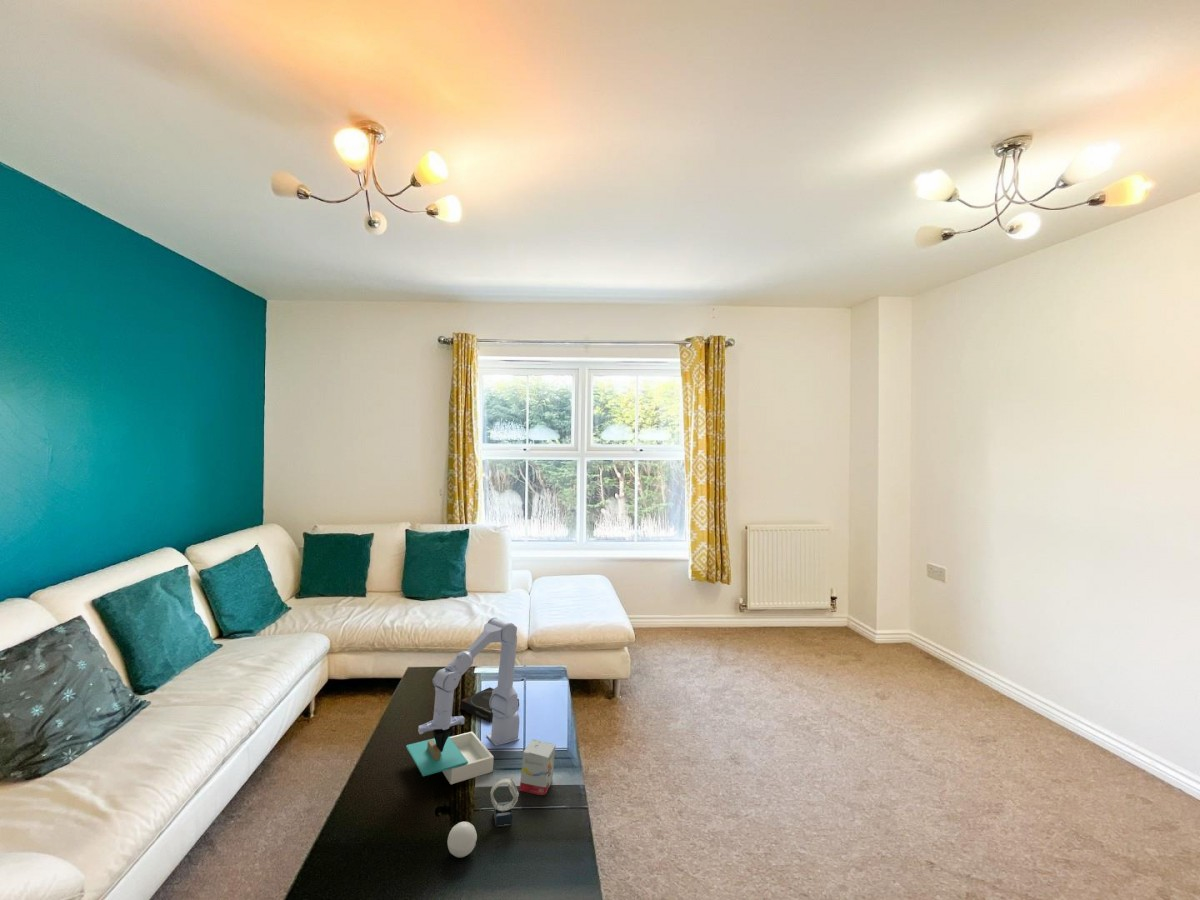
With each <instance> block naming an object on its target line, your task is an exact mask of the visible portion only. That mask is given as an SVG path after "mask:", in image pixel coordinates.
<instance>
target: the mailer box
mask: <svg viewBox="0 0 1200 900" xmlns="http://www.w3.org/2000/svg"><path fill="white" fill-rule="evenodd" d="M449 737H450V738H451V740H452V741H453V742H454V744H455V745H456V746H457V748H458V749H459V750H460V752H461V753H462V754H463V756H464V757H465V758H466V760H467V761H468V764H465V765H461V766H458V767H454V768H451V769H447V770H444V771H441V772H442V773H443V775H444V777H445V778H446V780H447V781H448V782H449V784H450V785H453V784H456V783H460V782H464V781H466V780H469V779H473V778H476V777H481V776H482V775H487V774H489V773H492V772H494V759H495V758H494V755H493V754H492V753H491V752H490V750H489V749H488V747H486V746H485V744H484V743H483V742H482V741H481V740H480V739H479V737H478V736H477V735H476V734H475V732H474V731H469V732H464V733H461V734H457V735H451V736H449Z"/></svg>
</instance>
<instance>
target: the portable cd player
mask: <svg viewBox="0 0 1200 900" xmlns="http://www.w3.org/2000/svg"><path fill="white" fill-rule="evenodd" d="M493 689H494V688H492V687H490V686H489V687H487V688H485V689H483V690H479V691H478V692H476V693H474V694H472V695H470V696H467V697H465V698H463V699H461V700H460V705H459V710H461V709H463V710H465V711H466V712H465V711H464V712H465V713H467V712H468V714H469V713H470V714H469V715H472V716H473V717H476V718H478V719H481V720H483V721H485V722H487V723H492V720H493V712H492V708H490V705H489V701H490V698H491V696H492V690H493ZM517 700H518V708H519V707H520V699H519V698H517ZM463 710H462V711H463Z"/></svg>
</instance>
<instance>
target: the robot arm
mask: <svg viewBox="0 0 1200 900" xmlns="http://www.w3.org/2000/svg"><path fill="white" fill-rule="evenodd" d="M517 632H518V627H517V626H516V625H515V624H514V623H512V622H508V621H505V620H502V619H500V618H498V617H495V616H494V617H491V618H490V619H489V620H488V621H487V622H486V623H485V624H484V626H483V630H482V632H481V633H480V634H479V635H478V637H477V638H475V640H474V641H473V642H472V643H471V645H470V646H469V647H468V648H467V650H463V651H460V652H458V653H457V654H456V656H455V657H454V658H453V659H452V661H450V662H449V663H448V664H447V666H445V667H444V668H441V669H439V670H437V671H436V673H435V674H434V676H433V678H432V684H433V685H434V691H435V694H434V695H435V696H434V706H433V707H434V709H433V718H432V720H430V721H427V722H425V723H423V724H420V725H418V728H417V732H418V733H419V735H424V733H427V732H431V731H432V734H433V737H434V738H435V741H436V746H437V747H438V749H439V750H440V752H442V751H443V748H444V745H445V743H446V740H447V738H448V737H450V736H451V734H452V728H451V727H452V726H458V725H465V720H466V719H465V717H464V716H463V715H458V716H452V715H453V706H454V695H455V693H454V692H455V690H456V688H457V687H458V686H459V682H460V680H462V676H463V675H464V674H465V673H466V672H467V671H468V670H469V668H471V667H472V665H473V664H474V659H475V657H476V656H477V655H479V654H480V653H481V652H482V651H483V650H484V649H485V648H486V647H487V646H488V645H490V644H492V643H500V644H501V646H500V647H501V648H500V658H499V669H498V677H497V686H495V687H494V688H493V690H492V696H491V698H490V701H489V705H490V708H492V712H493V720H492V722H491V731H490V732H489V733H487V734H486V736H487V738H488V739H489V740H490V741H491V743H492V744H493V745H494V746H501V745H504V744H507V743H512V742H515V741H519V740H520V737H519V734H520V733H519V729H520V715H519V713H518V709H519V707H518V700H517V699H518V697H519V695H518V693H517V691H516V690H515V688H514V687H513V685H514V676H515V666H516V665H515V664H516V655H517V654H516V653H517V644H518V643H517V642H518V636H517Z"/></svg>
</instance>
